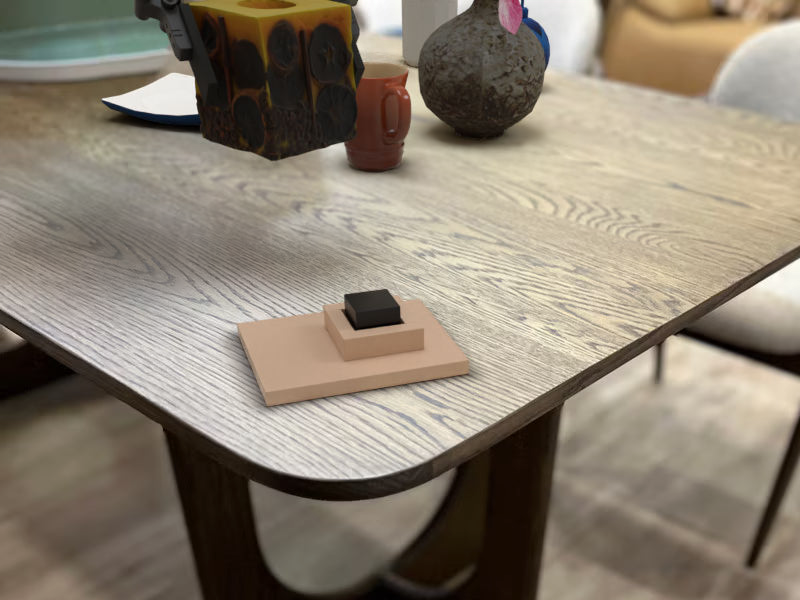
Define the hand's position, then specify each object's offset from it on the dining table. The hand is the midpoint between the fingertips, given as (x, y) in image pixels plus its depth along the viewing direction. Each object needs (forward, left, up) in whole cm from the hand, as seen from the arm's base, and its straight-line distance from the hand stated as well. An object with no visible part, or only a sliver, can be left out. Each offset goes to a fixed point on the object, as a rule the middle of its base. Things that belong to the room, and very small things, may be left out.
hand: (286, 87), depth 69 cm
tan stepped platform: (0, -17, -16) cm, 23 cm away
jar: (+43, +86, -16) cm, 97 cm away
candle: (-1, +3, -5) cm, 5 cm away
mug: (+17, +30, -16) cm, 38 cm away
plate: (-1, +63, -16) cm, 65 cm away
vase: (+35, +41, -16) cm, 56 cm away
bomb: (+50, +64, -16) cm, 82 cm away
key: (+2, -17, -13) cm, 22 cm away
